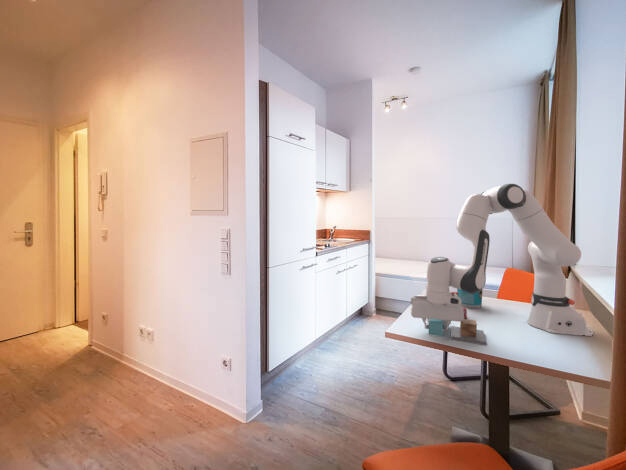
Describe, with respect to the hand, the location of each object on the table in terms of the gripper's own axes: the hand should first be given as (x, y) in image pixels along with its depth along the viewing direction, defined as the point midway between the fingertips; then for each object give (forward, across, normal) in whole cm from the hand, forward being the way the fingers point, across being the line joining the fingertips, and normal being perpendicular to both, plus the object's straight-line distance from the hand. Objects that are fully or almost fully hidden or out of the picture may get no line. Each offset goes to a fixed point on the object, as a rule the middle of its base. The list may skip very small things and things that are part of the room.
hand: (435, 329), depth 127 cm
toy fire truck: (+2, +14, +28) cm, 31 cm away
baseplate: (+2, +12, 0) cm, 12 cm away
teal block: (+2, 0, 0) cm, 2 cm away
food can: (+2, +24, +44) cm, 50 cm away
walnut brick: (0, +12, 0) cm, 12 cm away
